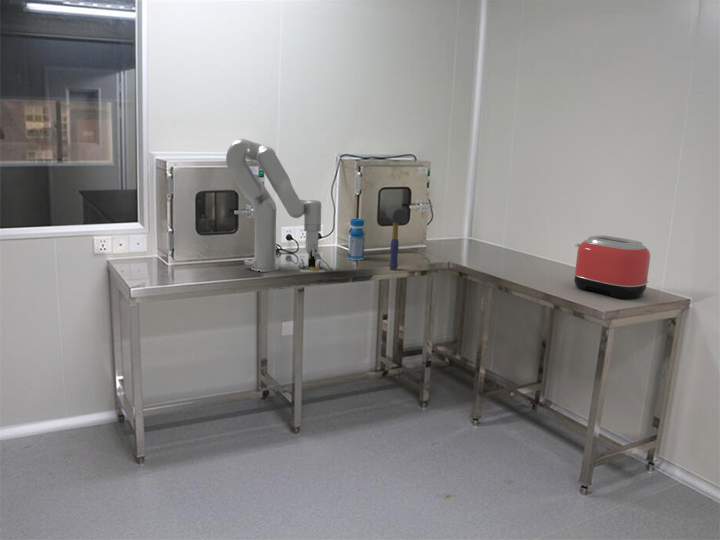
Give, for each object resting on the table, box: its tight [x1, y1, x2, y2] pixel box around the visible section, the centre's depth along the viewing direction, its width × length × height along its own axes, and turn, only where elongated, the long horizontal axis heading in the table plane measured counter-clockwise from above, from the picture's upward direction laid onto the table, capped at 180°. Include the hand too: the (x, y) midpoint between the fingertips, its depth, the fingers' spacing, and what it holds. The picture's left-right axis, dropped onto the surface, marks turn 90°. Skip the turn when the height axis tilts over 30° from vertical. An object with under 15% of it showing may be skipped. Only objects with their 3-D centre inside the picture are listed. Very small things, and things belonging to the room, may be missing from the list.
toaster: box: [573, 235, 651, 300], centre depth 282 cm, size 32×23×23 cm
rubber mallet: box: [385, 204, 408, 271], centre depth 307 cm, size 12×8×30 cm, turn 13°
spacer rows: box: [298, 258, 324, 270], centre depth 304 cm, size 10×8×3 cm
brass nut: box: [310, 265, 319, 273], centre depth 298 cm, size 5×4×2 cm
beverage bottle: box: [347, 218, 366, 261], centre depth 328 cm, size 8×8×20 cm
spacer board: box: [298, 265, 326, 273], centre depth 302 cm, size 11×13×1 cm
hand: (311, 267), depth 302 cm, fingers closed
